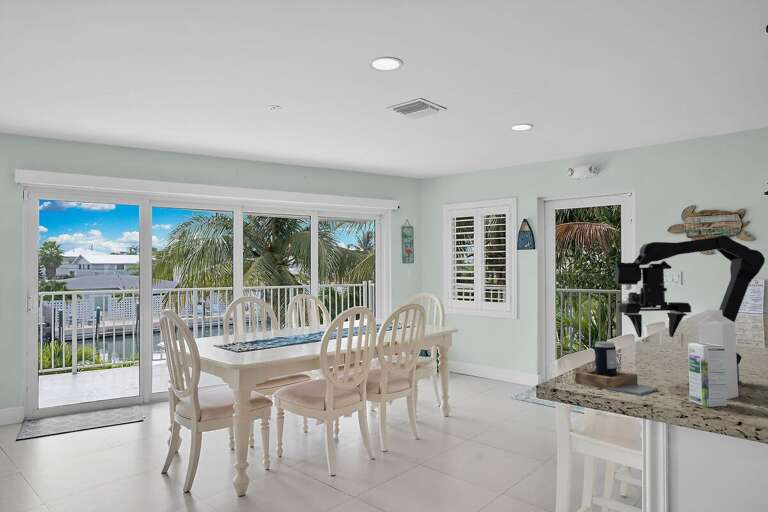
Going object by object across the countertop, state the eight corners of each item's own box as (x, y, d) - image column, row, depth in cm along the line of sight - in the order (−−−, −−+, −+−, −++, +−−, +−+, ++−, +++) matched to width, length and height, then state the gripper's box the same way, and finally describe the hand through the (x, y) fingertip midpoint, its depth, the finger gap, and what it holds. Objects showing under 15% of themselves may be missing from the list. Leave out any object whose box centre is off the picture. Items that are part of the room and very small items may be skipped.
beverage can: (612, 381, 149) (611, 340, 149) (619, 385, 143) (618, 343, 143) (593, 381, 149) (591, 341, 150) (599, 385, 143) (597, 343, 144)
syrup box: (688, 401, 124) (686, 342, 125) (711, 400, 125) (708, 342, 125) (705, 407, 119) (702, 345, 119) (728, 406, 119) (726, 345, 120)
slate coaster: (657, 390, 136) (657, 388, 136) (639, 395, 131) (639, 393, 131) (625, 385, 144) (625, 383, 144) (607, 389, 139) (607, 387, 139)
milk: (738, 396, 128) (735, 310, 129) (725, 400, 125) (722, 311, 126) (713, 392, 134) (710, 309, 135) (700, 395, 131) (697, 310, 132)
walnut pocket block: (637, 384, 144) (637, 373, 145) (613, 390, 138) (613, 379, 138) (599, 377, 154) (599, 368, 154) (575, 382, 148) (575, 372, 148)
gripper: (670, 283, 158) (672, 333, 157) (610, 284, 158) (612, 334, 158) (691, 284, 146) (693, 337, 146) (626, 285, 147) (628, 338, 146)
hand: (655, 337), depth 149 cm, fingers open, 9 cm apart
